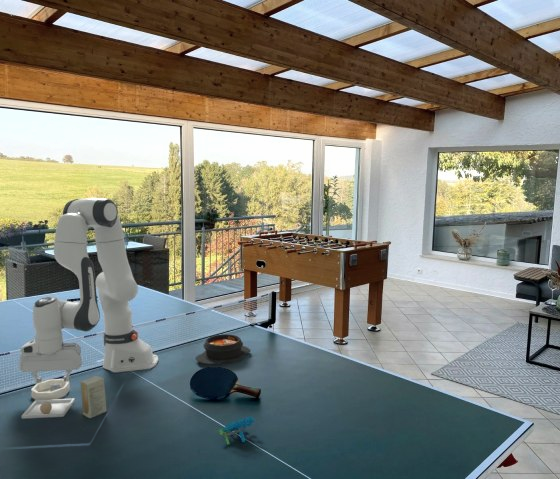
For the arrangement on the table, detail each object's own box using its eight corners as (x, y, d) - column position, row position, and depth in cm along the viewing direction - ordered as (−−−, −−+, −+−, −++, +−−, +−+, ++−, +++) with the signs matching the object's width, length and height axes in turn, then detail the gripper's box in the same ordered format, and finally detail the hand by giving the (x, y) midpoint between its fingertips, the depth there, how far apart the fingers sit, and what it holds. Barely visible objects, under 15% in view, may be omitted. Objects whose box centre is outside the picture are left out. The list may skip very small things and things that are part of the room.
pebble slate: (62, 391, 179) (62, 381, 179) (58, 395, 176) (58, 386, 175) (52, 390, 179) (52, 381, 179) (48, 395, 176) (48, 386, 175)
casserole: (233, 346, 227) (233, 328, 225) (259, 356, 213) (259, 338, 212) (187, 360, 210) (186, 341, 209) (212, 372, 196) (211, 352, 195)
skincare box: (99, 409, 167) (97, 374, 165) (107, 412, 164) (104, 377, 162) (82, 416, 162) (79, 380, 160) (89, 420, 159) (86, 384, 157)
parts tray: (75, 402, 171) (74, 398, 171) (63, 418, 160) (63, 413, 160) (35, 404, 170) (35, 400, 170) (21, 420, 159) (21, 415, 159)
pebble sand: (54, 410, 165) (53, 399, 164) (49, 415, 161) (49, 404, 161) (42, 410, 165) (42, 400, 164) (38, 415, 161) (37, 405, 160)
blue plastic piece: (251, 422, 154) (255, 411, 146) (257, 440, 151) (261, 431, 143) (217, 433, 150) (219, 423, 142) (222, 453, 147) (225, 443, 139)
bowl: (73, 387, 184) (72, 378, 183) (62, 401, 172) (61, 392, 172) (41, 388, 183) (40, 379, 182) (27, 403, 171) (26, 393, 171)
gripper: (82, 339, 175) (85, 376, 177) (23, 342, 173) (27, 379, 175) (77, 346, 169) (80, 384, 171) (15, 348, 167) (19, 387, 169)
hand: (52, 381), depth 173 cm, fingers open, 8 cm apart
